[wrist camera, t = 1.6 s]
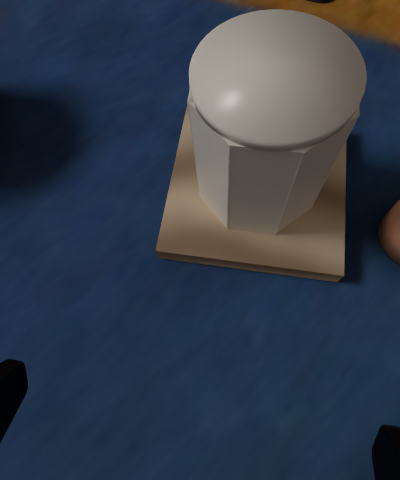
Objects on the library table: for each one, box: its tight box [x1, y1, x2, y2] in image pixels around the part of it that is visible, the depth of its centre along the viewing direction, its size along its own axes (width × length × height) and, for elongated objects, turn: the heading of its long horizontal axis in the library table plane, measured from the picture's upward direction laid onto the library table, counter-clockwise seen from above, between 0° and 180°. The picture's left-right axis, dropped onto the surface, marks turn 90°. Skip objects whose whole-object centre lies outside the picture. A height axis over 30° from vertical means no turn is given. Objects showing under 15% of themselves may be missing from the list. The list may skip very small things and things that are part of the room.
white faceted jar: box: [187, 9, 367, 234], centre depth 20 cm, size 8×8×10 cm
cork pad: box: [156, 106, 346, 282], centre depth 26 cm, size 12×12×2 cm
